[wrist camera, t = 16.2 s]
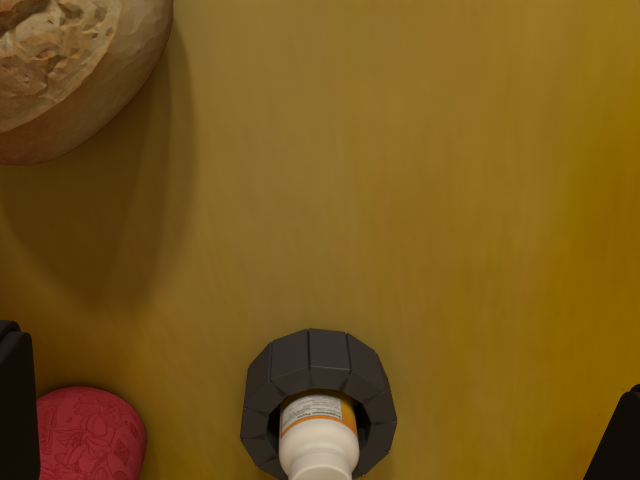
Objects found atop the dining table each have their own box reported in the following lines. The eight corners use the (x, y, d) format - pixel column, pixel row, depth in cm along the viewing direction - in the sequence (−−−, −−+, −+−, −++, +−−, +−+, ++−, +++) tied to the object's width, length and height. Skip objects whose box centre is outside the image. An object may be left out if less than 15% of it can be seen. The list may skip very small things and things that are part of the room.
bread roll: (-84, 68, 33) (-189, 93, 26) (82, -132, 30) (13, -167, 22) (52, 184, 37) (-8, 235, 29) (217, 17, 33) (195, 28, 26)
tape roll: (240, 435, 46) (234, 480, 42) (253, 322, 41) (249, 359, 37) (372, 446, 47) (379, 491, 43) (398, 337, 42) (410, 375, 38)
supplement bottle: (343, 418, 46) (355, 524, 37) (276, 411, 45) (271, 517, 36) (356, 363, 43) (372, 462, 34) (286, 355, 43) (283, 453, 34)
